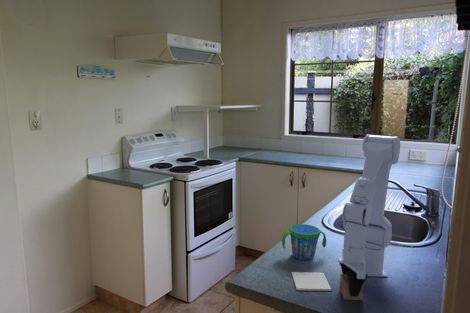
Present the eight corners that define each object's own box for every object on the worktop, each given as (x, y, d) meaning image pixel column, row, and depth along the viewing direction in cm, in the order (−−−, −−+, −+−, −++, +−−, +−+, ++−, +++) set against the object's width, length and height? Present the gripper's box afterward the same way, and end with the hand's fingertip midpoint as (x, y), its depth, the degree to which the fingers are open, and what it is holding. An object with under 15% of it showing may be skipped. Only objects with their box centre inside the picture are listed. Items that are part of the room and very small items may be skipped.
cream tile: (291, 273, 116) (291, 271, 116) (323, 274, 116) (323, 272, 116) (296, 290, 106) (296, 288, 106) (331, 290, 106) (331, 289, 106)
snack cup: (321, 250, 134) (322, 223, 133) (329, 263, 124) (331, 234, 122) (278, 250, 134) (279, 223, 132) (283, 263, 123) (285, 234, 122)
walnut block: (339, 290, 107) (340, 274, 106) (356, 290, 107) (357, 274, 106) (344, 299, 102) (345, 282, 101) (362, 300, 102) (363, 283, 101)
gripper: (333, 234, 109) (330, 277, 111) (347, 255, 95) (344, 304, 97) (357, 235, 109) (353, 278, 111) (375, 256, 94) (370, 305, 97)
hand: (350, 290), depth 104 cm, fingers closed on walnut block, 5 cm apart
